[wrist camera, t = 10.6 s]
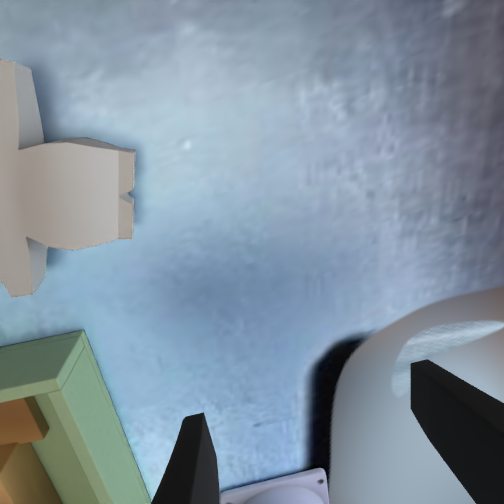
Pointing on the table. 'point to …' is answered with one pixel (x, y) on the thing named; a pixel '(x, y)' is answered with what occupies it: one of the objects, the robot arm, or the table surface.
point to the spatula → (23, 454)
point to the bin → (73, 420)
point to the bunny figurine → (53, 188)
